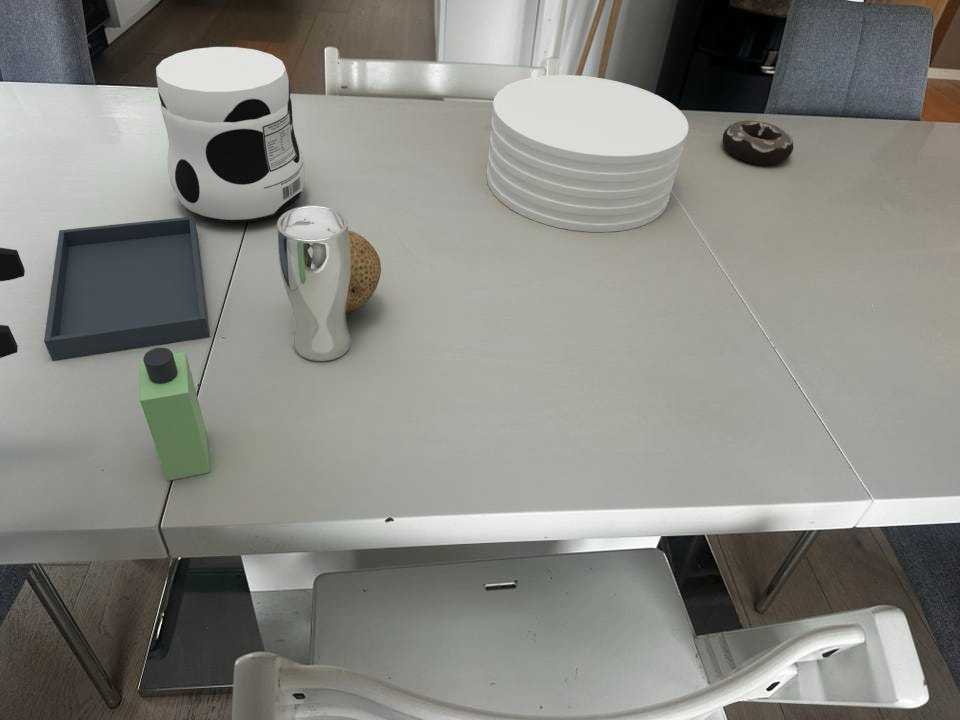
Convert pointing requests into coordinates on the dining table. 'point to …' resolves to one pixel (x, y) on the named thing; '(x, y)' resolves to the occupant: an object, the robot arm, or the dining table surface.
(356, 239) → the natural sponge
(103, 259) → the dark grey tray
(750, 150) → the donut
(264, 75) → the milk container
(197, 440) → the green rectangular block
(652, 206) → the plate stack
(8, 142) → the dining table surface
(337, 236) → the beer glass
